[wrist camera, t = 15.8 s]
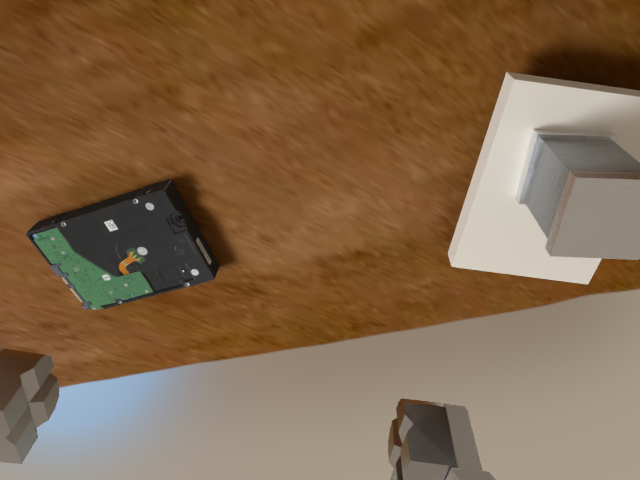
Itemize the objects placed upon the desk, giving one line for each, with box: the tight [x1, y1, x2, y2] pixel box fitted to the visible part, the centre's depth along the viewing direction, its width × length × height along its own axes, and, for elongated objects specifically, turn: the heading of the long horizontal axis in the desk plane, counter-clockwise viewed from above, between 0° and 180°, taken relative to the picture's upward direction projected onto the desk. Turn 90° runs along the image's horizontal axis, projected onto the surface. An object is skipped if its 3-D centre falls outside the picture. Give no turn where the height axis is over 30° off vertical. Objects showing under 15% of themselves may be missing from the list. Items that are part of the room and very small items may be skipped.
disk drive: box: [26, 179, 219, 310], centre depth 47 cm, size 10×3×15 cm
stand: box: [448, 72, 640, 284], centre depth 40 cm, size 16×12×4 cm
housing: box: [515, 129, 640, 260], centre depth 33 cm, size 6×6×8 cm
